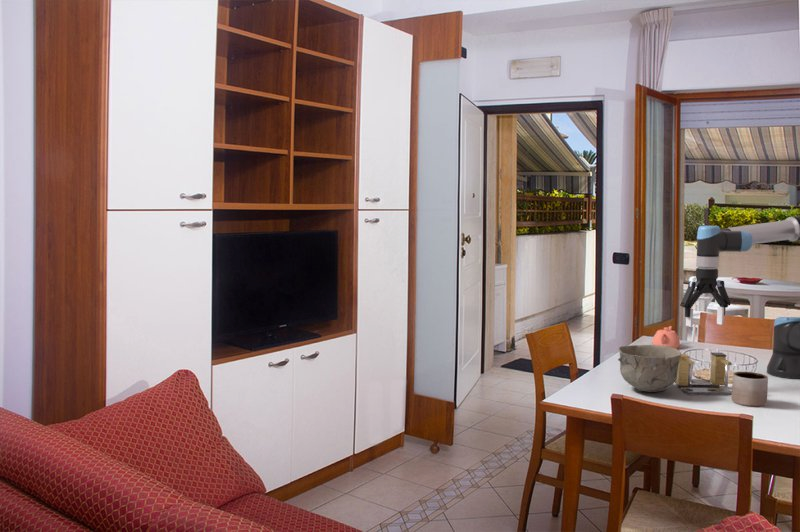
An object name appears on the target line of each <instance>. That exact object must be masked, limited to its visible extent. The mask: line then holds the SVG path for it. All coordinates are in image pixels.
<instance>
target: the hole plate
mask: <svg viewBox="0 0 800 532" xmlns="http://www.w3.org/2000/svg"><path fill="white" fill-rule="evenodd" d="M681 391H682V392H683V393H685V394H686V395H689V396H693V395H692V394H695V395H694V396H732V389H729V388H728V387H720V388H681ZM690 394H691V395H690ZM700 394H701V395H700Z"/></svg>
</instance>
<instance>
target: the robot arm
mask: <svg viewBox="0 0 800 532" xmlns="http://www.w3.org/2000/svg"><path fill="white" fill-rule="evenodd" d="M696 234H697V235H696V259H695V260H696V262H695V263H696V265H695V266H696V268H695V279H696V281H691V280H689V281H688V285H687V289H686V291H685V293H684V295H683V297H682V300H681V301H680V304H679V306H680V307H682V308H683V309H684V317H685V326H686V327H690V328H691V327H694V326H693V324H694V323H693V321H694V308H693V306H694V305H695V304H696V302H697V301H698V300H699V298H700V297H701V296H702V295H703V294H710V295H712V297H713V298H714V300H715V301H716V303H717V305H719V306H717V308H716V309H717V310H716V311H717V312H716V325H720V326H724V323H725V322H724V321H725V316H726V308H728V307H729V306H731V300H730V298H729V295H728V292H727V289H726V286H725V280H720V279H719V269H718V268H719V266H720V264H719V263H720V260H719V259H720V257H719V256H720V252H727V253H728V252H733V253H734V252H736V253H737V252H738V253H742V252H749V251H750V250H751V248H752V246H753V245H757V244H764V243H772V242H773V243H774V242H780V241H790V242H799V241H800V214H799V215H795V216H788V217H787V218H786V219H785V220H778V221H770V222H762V223H755V224H748V225H747V224H746V225H740V226H732V227H727V228H720V225H700V226H699V227H698V229H697V233H696ZM718 279H719V280H718ZM772 340H773V342H772V343H773V344H772V354H771V357H770V359H769V362H768V363H767V365H766V374H768V375H771V376H774V377H780V378H783V379H785V378H786V379H795V380H797V379H800V316H778V317H776V318H774V322H773V338H772Z"/></svg>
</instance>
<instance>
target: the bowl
mask: <svg viewBox="0 0 800 532" xmlns="http://www.w3.org/2000/svg"><path fill="white" fill-rule="evenodd" d="M617 349H618V352H619V358H618V359H617V360H618V362H620V363H619V364H620V365H619V372H620V374H621V376H622V379H623V380H624V381H625V382H626V383H627V384H628V385H630V386H631V387H633V388H635V389H637V390H638V391H642V392H645V393H647V392H648V393H657V392H663V391H665V390H667V389H669V388H670V387H671V386H672V385H673V384H675V380H676V379H677V370H678V364H679V360H680V357H681V355H682V354H683V353H682V352H681V351H680V349H678V348H677V349H675V348H672V347H668V346H657V345H652V344H638V345H635V344H634V345H621V346H619V347H618V348H617Z"/></svg>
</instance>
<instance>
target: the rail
mask: <svg viewBox="0 0 800 532" xmlns="http://www.w3.org/2000/svg"><path fill="white" fill-rule="evenodd" d="M675 386H676V388H678V389H682V388H721V385H714V384H712V383H697V382H696V383H695V382H694V383H693V382H691V387H688V386H679V385H678V384H676V383H675Z"/></svg>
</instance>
